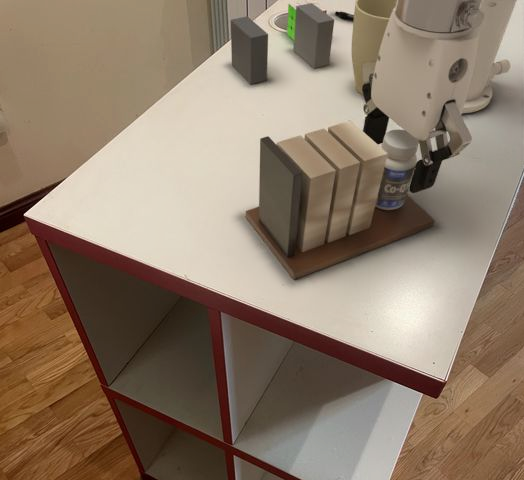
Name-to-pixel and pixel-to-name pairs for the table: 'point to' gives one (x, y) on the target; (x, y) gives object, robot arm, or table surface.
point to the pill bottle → (397, 169)
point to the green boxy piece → (293, 15)
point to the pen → (345, 15)
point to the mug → (368, 33)
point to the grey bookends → (305, 42)
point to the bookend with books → (327, 199)
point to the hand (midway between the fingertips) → (395, 166)
